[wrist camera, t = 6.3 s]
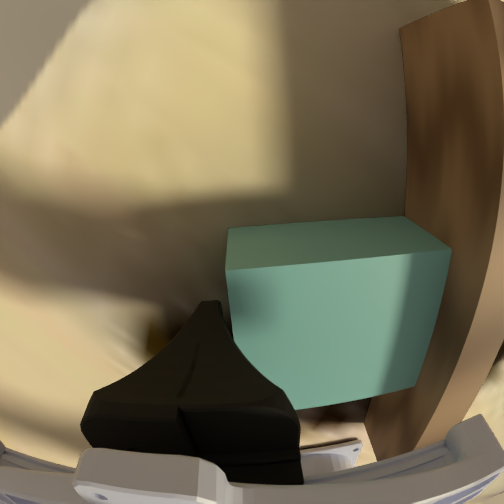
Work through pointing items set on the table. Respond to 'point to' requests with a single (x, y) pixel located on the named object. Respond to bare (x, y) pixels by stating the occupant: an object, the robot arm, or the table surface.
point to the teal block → (335, 304)
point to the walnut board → (452, 215)
